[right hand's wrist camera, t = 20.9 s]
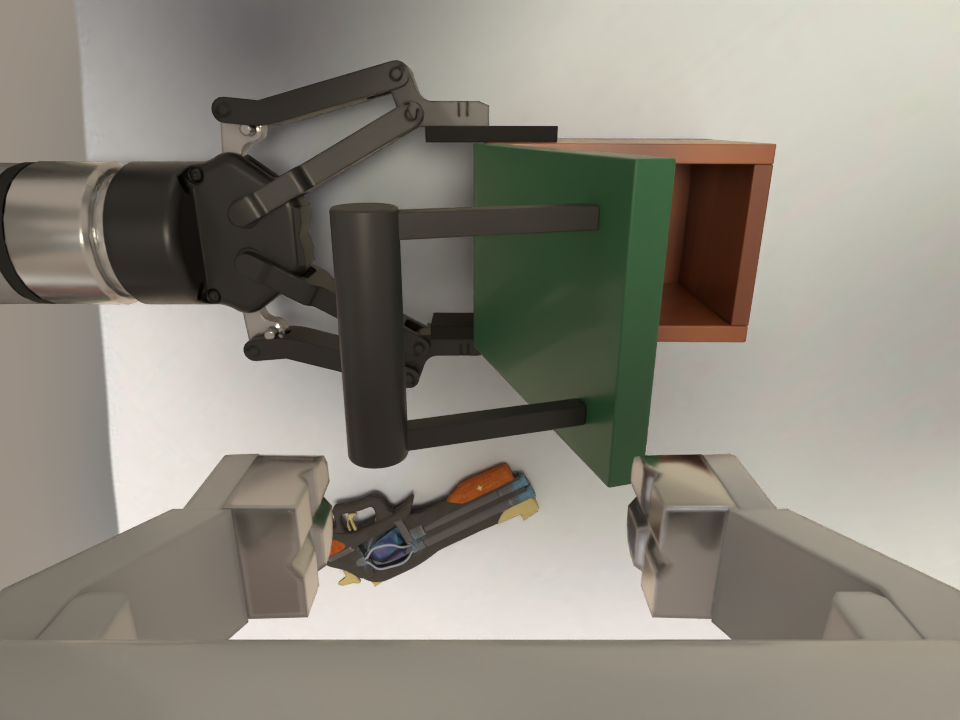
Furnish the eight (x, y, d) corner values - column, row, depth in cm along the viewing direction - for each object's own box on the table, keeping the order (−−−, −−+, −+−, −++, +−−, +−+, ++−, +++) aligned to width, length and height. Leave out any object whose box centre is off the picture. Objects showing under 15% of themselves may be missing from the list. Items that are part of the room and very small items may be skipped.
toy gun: (241, 514, 45) (312, 626, 47) (481, 396, 43) (545, 517, 45) (254, 498, 48) (320, 604, 50) (481, 386, 46) (541, 500, 48)
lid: (677, 158, 16) (333, 163, 14) (643, 482, 20) (360, 533, 17) (498, 143, 29) (299, 144, 26) (496, 344, 32) (319, 362, 30)
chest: (705, 139, 39) (777, 143, 29) (687, 293, 42) (746, 342, 32) (486, 138, 39) (485, 142, 29) (485, 292, 42) (484, 341, 33)
